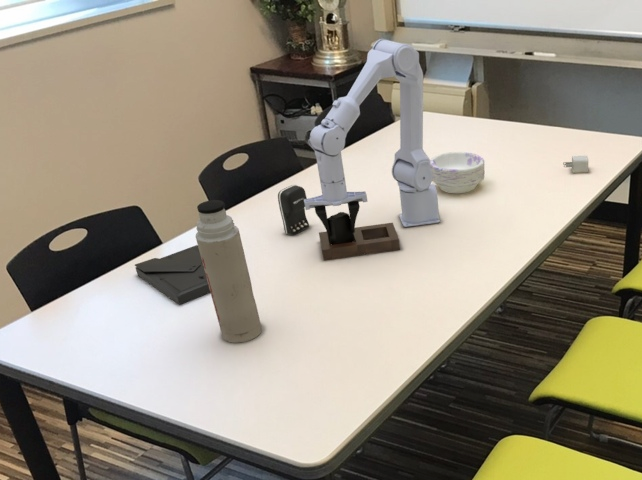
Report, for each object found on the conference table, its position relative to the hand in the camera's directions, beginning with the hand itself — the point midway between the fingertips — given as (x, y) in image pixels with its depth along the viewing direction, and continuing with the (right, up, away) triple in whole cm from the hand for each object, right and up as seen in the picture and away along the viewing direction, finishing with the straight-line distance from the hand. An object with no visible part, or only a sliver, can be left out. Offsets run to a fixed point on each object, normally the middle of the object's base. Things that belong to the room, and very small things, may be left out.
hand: (340, 232), depth 192 cm
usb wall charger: (+61, +25, +39) cm, 76 cm away
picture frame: (-34, -12, -7) cm, 36 cm away
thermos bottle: (-15, -26, -28) cm, 41 cm away
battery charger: (-13, +2, +12) cm, 18 cm away
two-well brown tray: (+4, -3, +3) cm, 6 cm away
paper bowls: (+27, +18, +32) cm, 46 cm away
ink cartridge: (0, -3, +2) cm, 4 cm away
